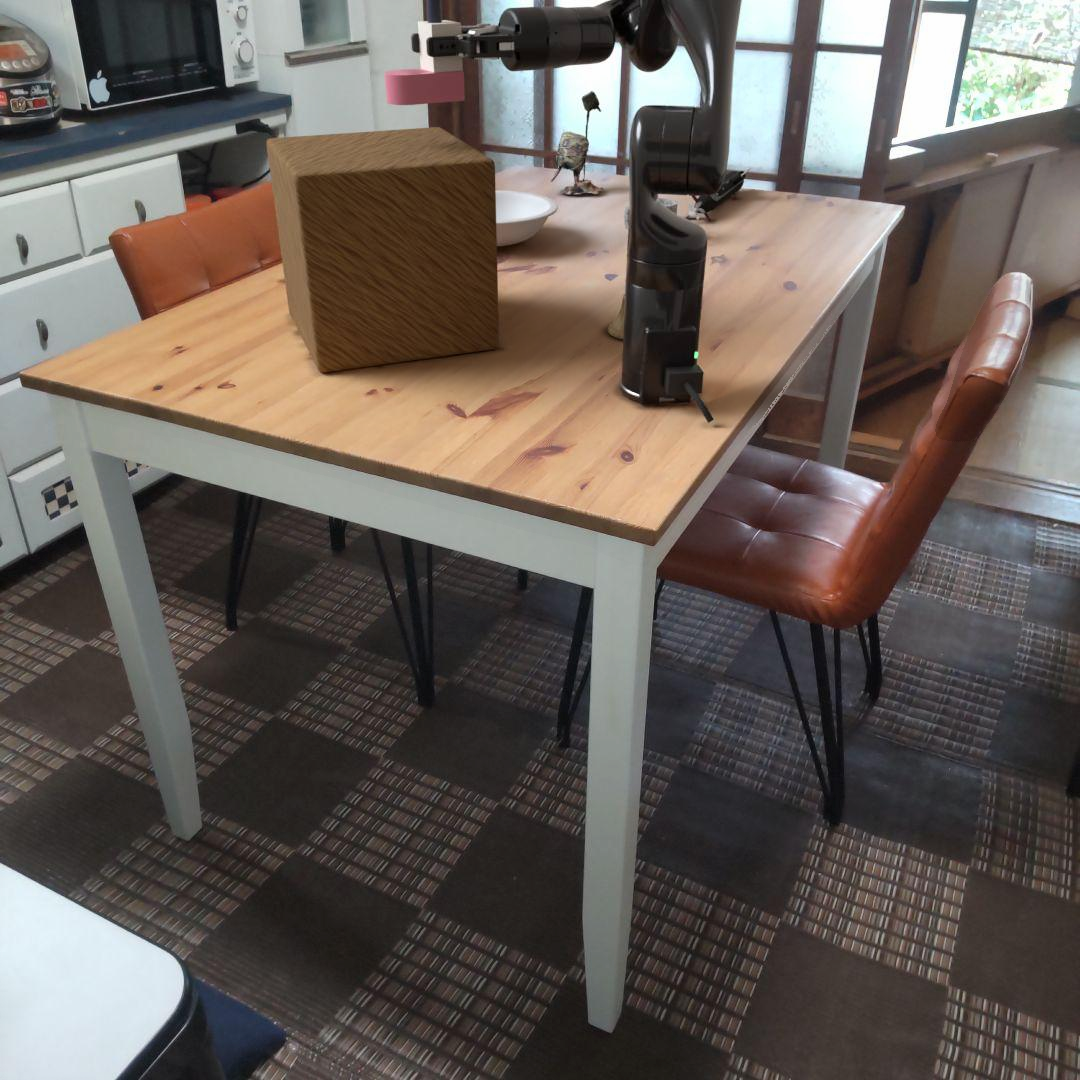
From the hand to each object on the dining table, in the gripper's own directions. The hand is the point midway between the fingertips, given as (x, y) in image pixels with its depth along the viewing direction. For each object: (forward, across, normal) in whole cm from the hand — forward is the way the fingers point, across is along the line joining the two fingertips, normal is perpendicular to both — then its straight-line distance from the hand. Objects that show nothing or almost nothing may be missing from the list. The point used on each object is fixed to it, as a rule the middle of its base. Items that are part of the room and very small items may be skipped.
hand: (420, 45), depth 128 cm
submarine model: (-79, -38, +37) cm, 95 cm away
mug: (-53, -25, +37) cm, 69 cm away
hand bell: (-24, +16, +37) cm, 47 cm away
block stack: (0, 0, +6) cm, 6 cm away
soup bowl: (-26, -36, +37) cm, 58 cm away
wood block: (+7, -1, +37) cm, 38 cm away
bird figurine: (-59, -62, +37) cm, 93 cm away
